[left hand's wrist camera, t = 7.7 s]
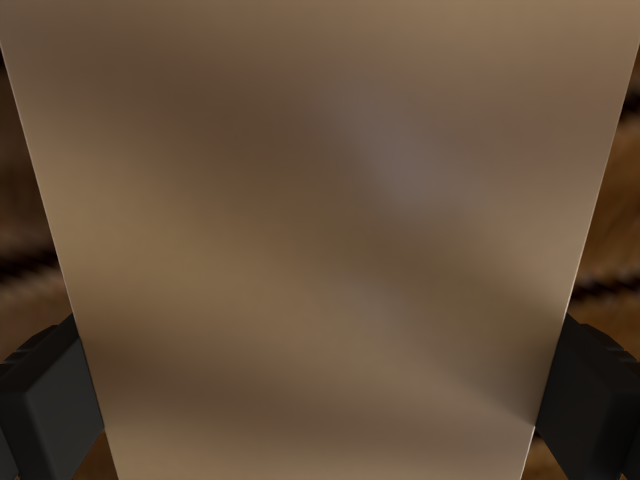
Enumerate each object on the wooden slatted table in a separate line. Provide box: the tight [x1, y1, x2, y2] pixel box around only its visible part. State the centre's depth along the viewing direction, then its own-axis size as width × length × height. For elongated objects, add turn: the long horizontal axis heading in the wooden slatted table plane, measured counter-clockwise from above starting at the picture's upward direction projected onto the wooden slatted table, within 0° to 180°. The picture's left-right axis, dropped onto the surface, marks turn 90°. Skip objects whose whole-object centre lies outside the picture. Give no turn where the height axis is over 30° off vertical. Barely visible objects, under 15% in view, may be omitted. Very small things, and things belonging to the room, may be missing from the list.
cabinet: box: [0, 0, 640, 480], centre depth 11 cm, size 20×11×9 cm, turn 0°
